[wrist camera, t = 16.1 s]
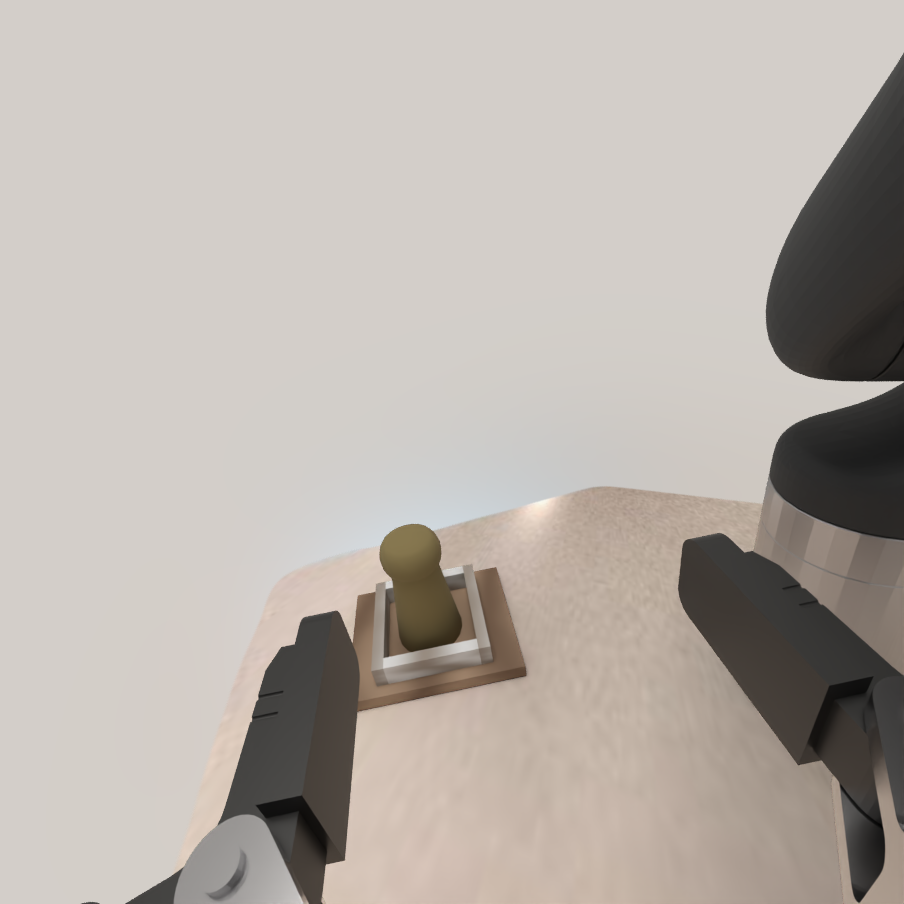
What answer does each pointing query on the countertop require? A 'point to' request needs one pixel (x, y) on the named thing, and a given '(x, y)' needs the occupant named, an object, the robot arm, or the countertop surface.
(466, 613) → the spice dock
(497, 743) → the countertop surface
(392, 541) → the olive pawn figure
